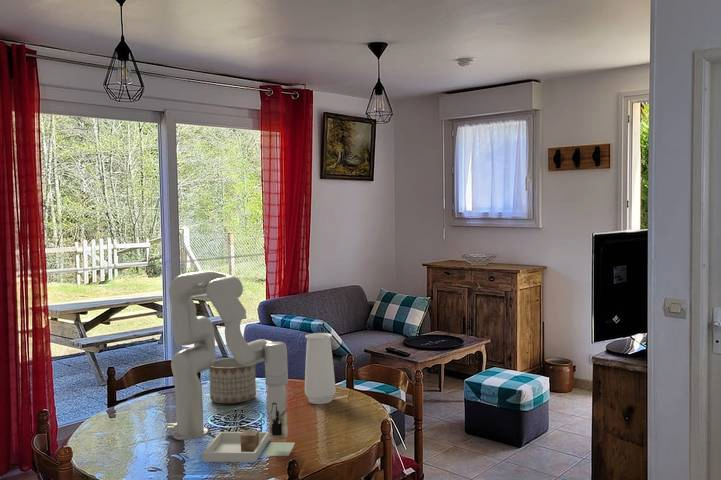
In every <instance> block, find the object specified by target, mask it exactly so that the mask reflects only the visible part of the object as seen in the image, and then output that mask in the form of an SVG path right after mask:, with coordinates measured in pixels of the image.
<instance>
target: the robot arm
mask: <svg viewBox="0 0 721 480" xmlns="http://www.w3.org/2000/svg"><path fill="white" fill-rule="evenodd" d="M243 293H244V286H243V283H242V281H241V280H240V279H239V278H238V277H236V276H234V275H230V274H227V273H222V272H218V271H215V270H201V271H192V272H186V273H183V274H179V275H178V276H176V277H175V278H173V279H172V281H171V282H170V285H169V287H168V296H169V301H170V306H171V314H172V315H171V318H172V319H171V321H172V334H173V339H174V342H175V344H177V345H178V346H180V347H181V346H183V347H184V346H185V347H186V346H190V345H193V346H192V347H191V346H190V347H188V348H185V349H182V350H180V351H177V352H176V353H175V354H174V355H173V356H172V358H171V362H170V366H171V367H170V368H171V372H172V375H173V382H174V392H175V393H174V394H175V396H174V397H175V398H174V399H175V418H176V422H174V423H172V422H169V423H168V422H167V423H166V425H165V428H166V430H167V431H173V432H172V438H173V439H175V440H178V441H182V440H185V441H186V440H193V439H199V438H202V437H204V436H206V435H207V434H208V433H209V430H208V428H207V427H205V426H204V407H203V405H204V404H203V403H204V402H203V387H202V386H203V385H202V381H201V380H200V377H199V375H198V373H201V372H204V371H206V370H209V368H211V367H212V366H213V364H214V362H215V360H216V355H217V353H216V339H215V337H216V336H215V329H214V328H215V327H214V325H213V323H212V321H211V320H210V319H209V318H208V317H207V316H204V315H197V307H196V304H195V302H194V300H193V299H192V297H196V296H202V295H206V296H207V298H208V299H209V302H210V303H211V304H212V306H213V308H214V309H215V310H216V312H217V313H218V315H219V317H220V318H221V320H222V322H223V324H224V337H225V343H226V344H225V345H226V346H227V348H228V350H229V352H230V353H231V355H232V356H233V358H235V359H236V360H237V362H238V363H239V364H241V365H243V366H251V365H254V364H255V365H257V364H259V363H262V362H264V371H265V372H264V375H265V378H264V379H265V385H266V386H267V390H266V391H267V392H266V393H267V394H266V413H267V415H268V416H270V414H271V413H272V435H282V423H281V414H282V413H283V412H284V411H286V408H287V388H286V387H287V384H288V383H289V372H288V347H287V344H286V343H285V342H283V341H271V340H268V339H265V338H262V339H261V338H260V339H256V340H253V341H250V342H247V341H246V339H245V337H244V335H243V333H242V331H241V323H242V320H244V318H245V317H246V315H247V310H246V309H245V306H244V305H243V304H242V302H241V301H240V299H239V298H240V297H241V296H242V295H243ZM276 412H279V414H276ZM276 416H278V417H276Z"/></svg>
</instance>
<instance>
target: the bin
mask: <svg viewBox="0 0 721 480" xmlns="http://www.w3.org/2000/svg"><path fill="white" fill-rule="evenodd" d="M242 433H243V431H219V433H218V434H216V436H215V437H214V439H212V440H211V442H210V443H209V444H208V445H207V447H205V448H204V450H203V451H202V453H201V454H202V457H201V458H202V460H201V461H202V463H203V462H205V463H206V462H211V463H213V462H216V463H217V462H218V463H219V462H221V463H222V462H223V463H230V462H231V463H256V462H258V459H259V458H260V456H261V454H263V452H264V451H265V449H266V447H267V446H268V445H267V444H269V441H270V431H259V445H258V446H257V448H256V449H255V451H254V452H241V436H240V435H241V434H242Z"/></svg>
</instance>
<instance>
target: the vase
mask: <svg viewBox="0 0 721 480" xmlns="http://www.w3.org/2000/svg"><path fill="white" fill-rule="evenodd" d="M332 336H333V334H331V333H329V332H313V333H307V334H305V336H304V338H306V349H305V350H306V351H305V367H304V368H305V370H304V375H305V376H304V396H306V397H307V399H308V402H309V403H310V404H314V405H323V404H328V403H332V401H333V397H334V395H335V394H336V378H335V369H334V359H333V358H334V357H333V351H332V348H333V347H332V341H331V338H332Z"/></svg>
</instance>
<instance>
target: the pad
mask: <svg viewBox="0 0 721 480" xmlns="http://www.w3.org/2000/svg"><path fill="white" fill-rule="evenodd" d="M295 444H296V442H285V441H284V442H277V441H276V442H275V441H273V442H268V445H266V447H265V448H264V450H263V452H262V453H261V454H262V455H261V456H262V457H263V456H264V457H267V456H269V457H270V456H271V457H277V456H278V457H280V456H281V457H287V456H288V457H289V456H290V454H291V453H292V450H293V448H294V446H295Z"/></svg>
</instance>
